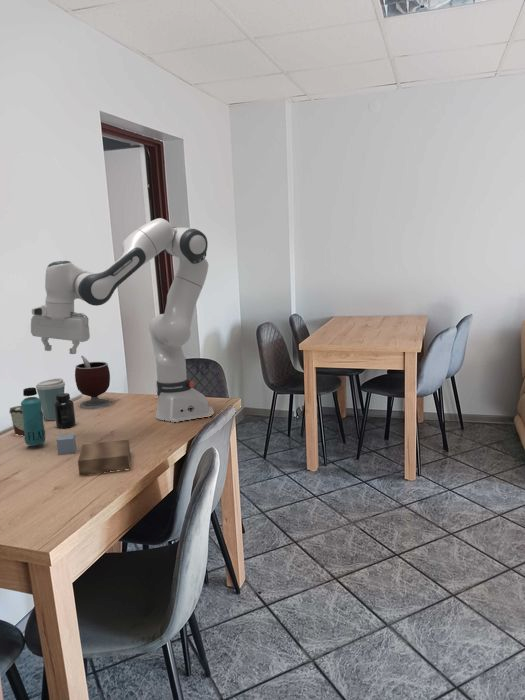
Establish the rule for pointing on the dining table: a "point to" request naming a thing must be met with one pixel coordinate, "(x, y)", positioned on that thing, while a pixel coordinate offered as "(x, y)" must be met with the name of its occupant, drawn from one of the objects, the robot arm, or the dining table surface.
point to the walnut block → (104, 457)
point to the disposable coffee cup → (49, 395)
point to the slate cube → (66, 444)
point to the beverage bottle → (32, 418)
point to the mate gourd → (93, 382)
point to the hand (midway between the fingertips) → (60, 352)
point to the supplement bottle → (64, 411)
